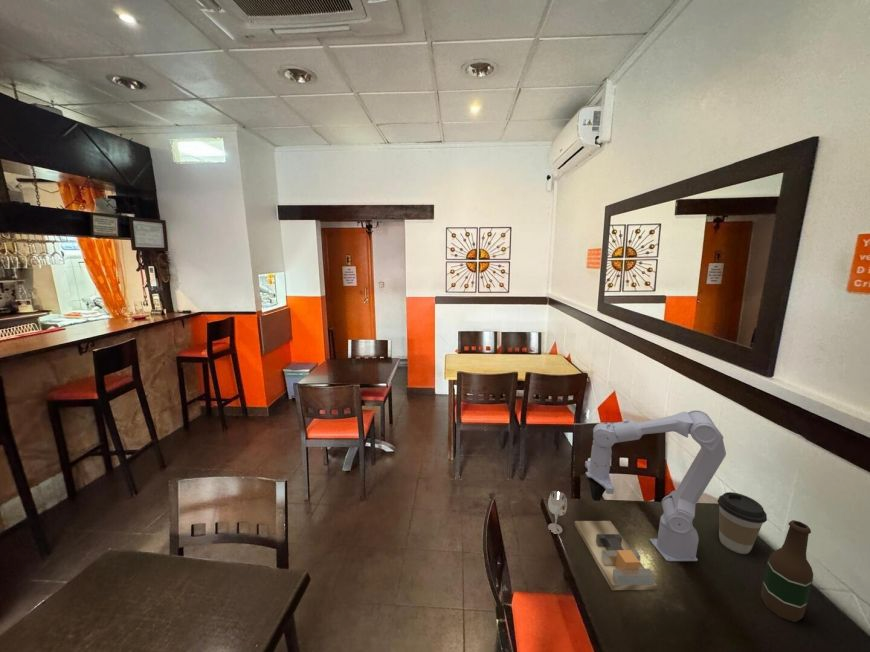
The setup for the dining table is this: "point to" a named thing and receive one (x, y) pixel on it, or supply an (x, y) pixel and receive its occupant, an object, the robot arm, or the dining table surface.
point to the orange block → (626, 560)
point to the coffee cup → (739, 521)
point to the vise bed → (589, 533)
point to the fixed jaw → (633, 577)
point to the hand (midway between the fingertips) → (595, 499)
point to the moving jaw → (611, 547)
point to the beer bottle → (789, 575)
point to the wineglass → (557, 509)
